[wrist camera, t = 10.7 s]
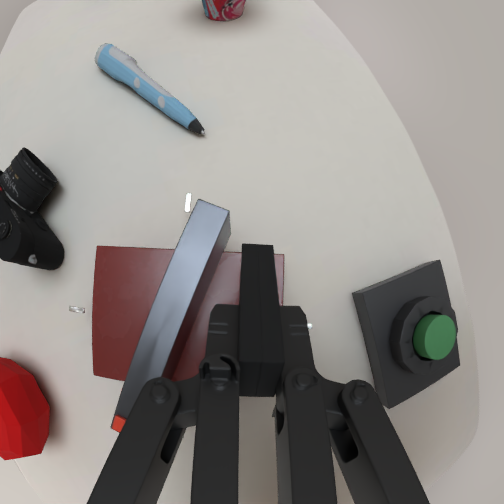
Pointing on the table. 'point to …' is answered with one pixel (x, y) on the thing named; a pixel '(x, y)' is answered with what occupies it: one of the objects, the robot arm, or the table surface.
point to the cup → (223, 9)
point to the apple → (21, 412)
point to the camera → (27, 214)
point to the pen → (144, 85)
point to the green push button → (434, 336)
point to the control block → (404, 331)
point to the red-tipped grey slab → (176, 303)
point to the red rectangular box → (141, 299)
